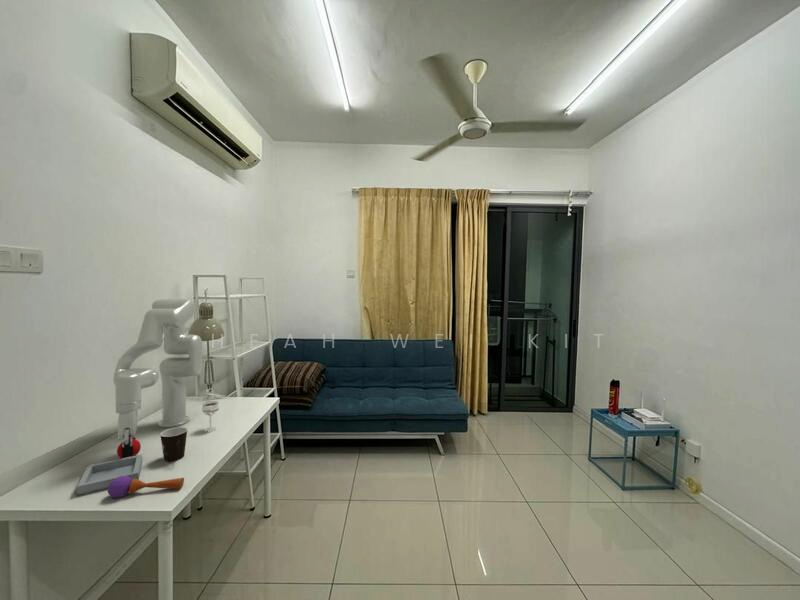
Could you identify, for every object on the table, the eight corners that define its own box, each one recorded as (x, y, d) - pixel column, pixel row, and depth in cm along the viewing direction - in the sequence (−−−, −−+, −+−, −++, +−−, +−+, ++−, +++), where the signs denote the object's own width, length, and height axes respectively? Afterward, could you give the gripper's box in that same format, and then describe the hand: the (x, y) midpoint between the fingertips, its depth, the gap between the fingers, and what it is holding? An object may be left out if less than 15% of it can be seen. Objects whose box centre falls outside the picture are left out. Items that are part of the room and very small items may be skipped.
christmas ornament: (145, 455, 129) (145, 430, 129) (124, 464, 123) (124, 437, 123) (133, 452, 132) (133, 427, 132) (112, 460, 125) (112, 434, 125)
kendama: (178, 481, 105) (102, 485, 100) (178, 498, 107) (103, 503, 101) (185, 468, 111) (114, 471, 106) (185, 484, 112) (114, 488, 107)
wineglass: (210, 425, 159) (210, 400, 158) (222, 427, 157) (222, 401, 157) (198, 431, 152) (198, 405, 152) (210, 433, 150) (210, 406, 150)
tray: (88, 473, 116) (87, 465, 116) (142, 462, 124) (142, 454, 124) (77, 496, 104) (76, 486, 104) (138, 481, 112) (138, 472, 112)
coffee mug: (164, 454, 131) (164, 428, 131) (189, 450, 134) (189, 425, 134) (154, 469, 120) (154, 441, 120) (182, 464, 123) (182, 438, 123)
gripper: (119, 401, 132) (119, 446, 132) (111, 415, 118) (112, 465, 118) (143, 398, 136) (143, 441, 137) (138, 411, 122) (139, 459, 122)
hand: (128, 452), depth 127 cm, fingers closed on christmas ornament, 7 cm apart
